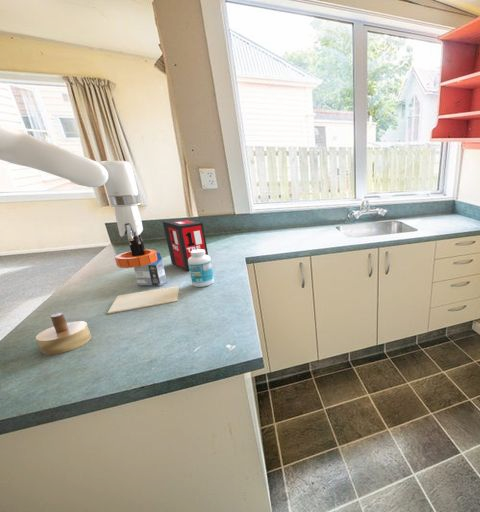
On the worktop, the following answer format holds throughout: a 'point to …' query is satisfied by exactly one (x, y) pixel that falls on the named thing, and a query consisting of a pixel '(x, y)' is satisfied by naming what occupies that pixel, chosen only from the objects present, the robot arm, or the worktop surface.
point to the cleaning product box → (184, 240)
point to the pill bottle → (200, 268)
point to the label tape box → (151, 273)
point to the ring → (136, 259)
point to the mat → (144, 299)
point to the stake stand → (63, 335)
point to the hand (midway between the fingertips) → (139, 254)
